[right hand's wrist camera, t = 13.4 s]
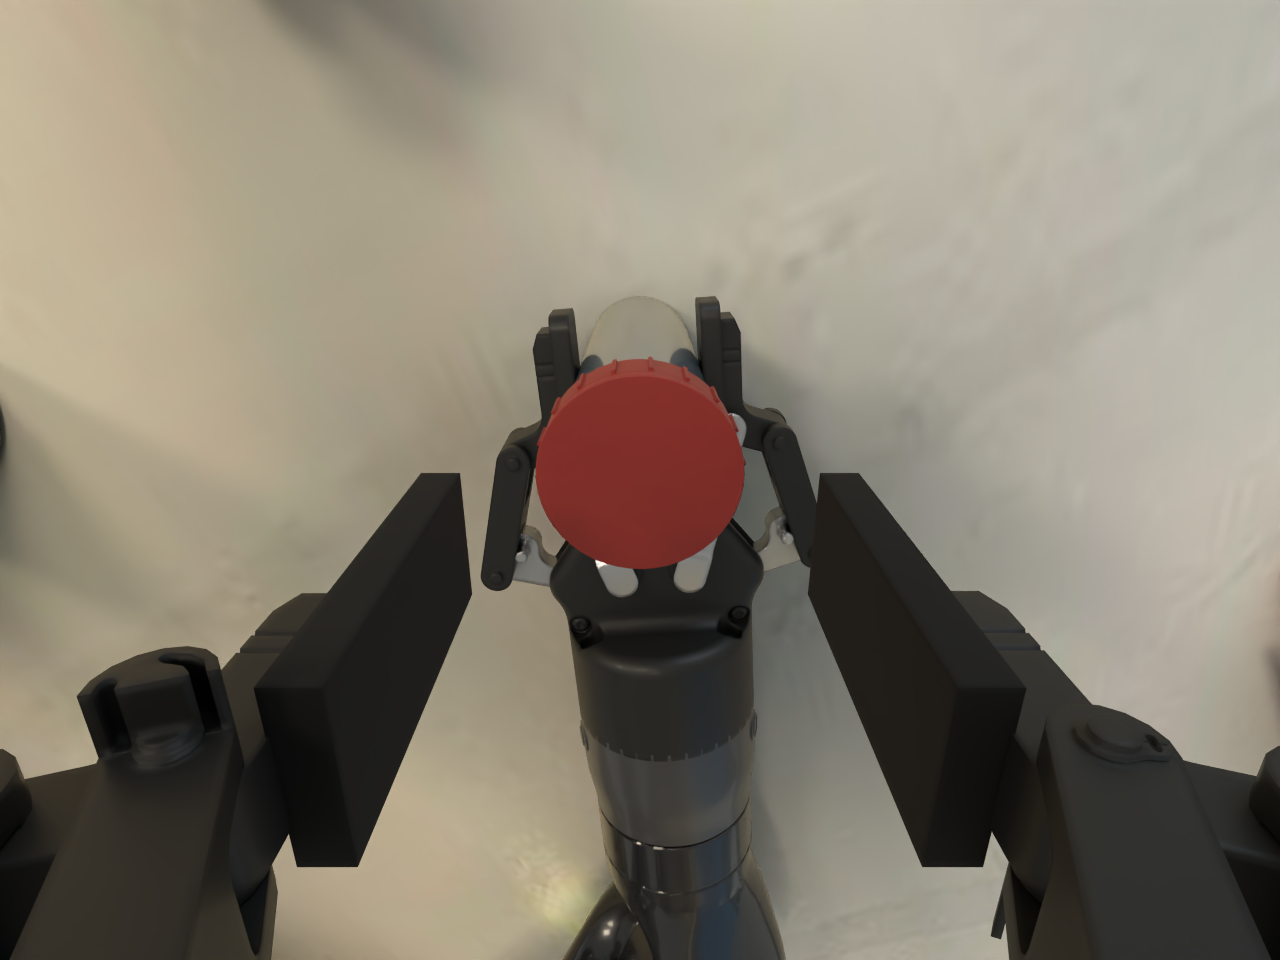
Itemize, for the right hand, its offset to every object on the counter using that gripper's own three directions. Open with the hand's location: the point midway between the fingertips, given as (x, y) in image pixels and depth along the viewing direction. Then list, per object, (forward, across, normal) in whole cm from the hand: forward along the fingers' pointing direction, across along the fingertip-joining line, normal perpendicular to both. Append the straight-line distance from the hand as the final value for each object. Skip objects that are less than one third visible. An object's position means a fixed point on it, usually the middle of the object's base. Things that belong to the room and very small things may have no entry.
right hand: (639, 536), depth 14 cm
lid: (+4, 0, 0) cm, 4 cm away
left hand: (+12, 0, -3) cm, 13 cm away
